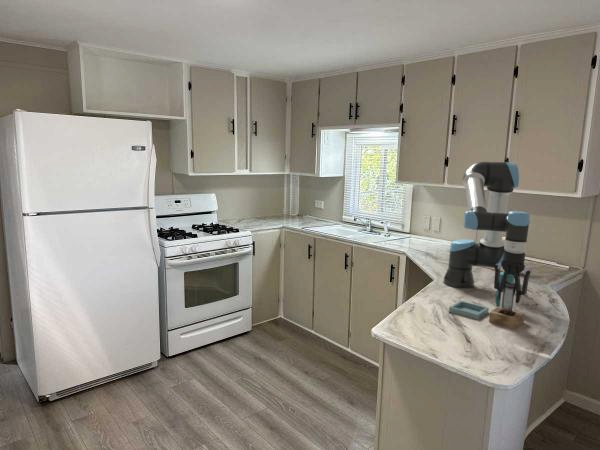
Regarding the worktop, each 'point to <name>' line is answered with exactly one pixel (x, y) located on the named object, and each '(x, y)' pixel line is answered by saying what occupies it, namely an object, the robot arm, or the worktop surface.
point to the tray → (468, 310)
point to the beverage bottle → (510, 278)
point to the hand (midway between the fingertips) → (507, 308)
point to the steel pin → (508, 297)
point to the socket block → (506, 318)
